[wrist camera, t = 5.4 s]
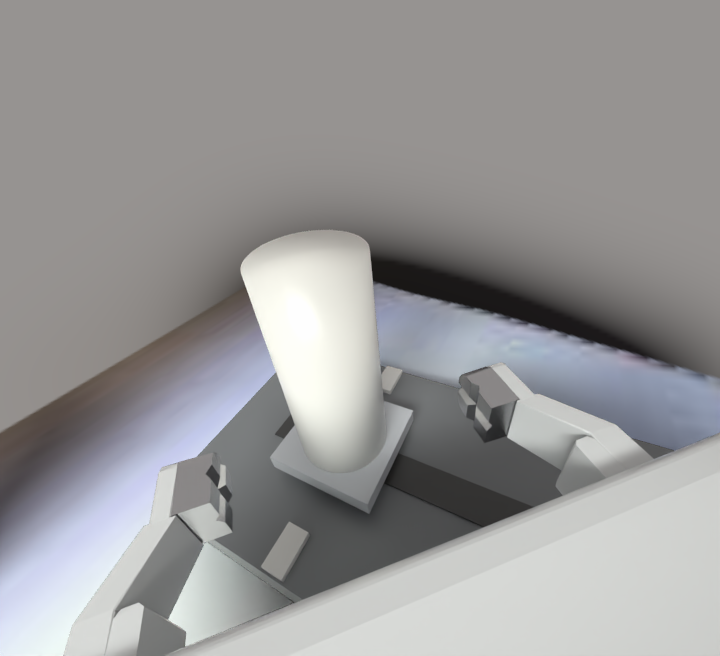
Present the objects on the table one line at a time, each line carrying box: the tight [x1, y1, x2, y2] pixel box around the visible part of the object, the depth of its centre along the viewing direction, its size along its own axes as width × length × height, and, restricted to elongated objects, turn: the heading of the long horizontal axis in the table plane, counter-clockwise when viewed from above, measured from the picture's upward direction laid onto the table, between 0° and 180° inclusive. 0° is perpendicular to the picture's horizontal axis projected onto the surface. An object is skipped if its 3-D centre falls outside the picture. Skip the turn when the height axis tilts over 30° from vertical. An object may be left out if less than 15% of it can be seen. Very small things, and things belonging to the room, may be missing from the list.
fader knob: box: [241, 230, 413, 514], centre depth 14 cm, size 5×5×10 cm
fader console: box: [197, 366, 674, 603], centre depth 14 cm, size 30×12×2 cm, turn 63°
